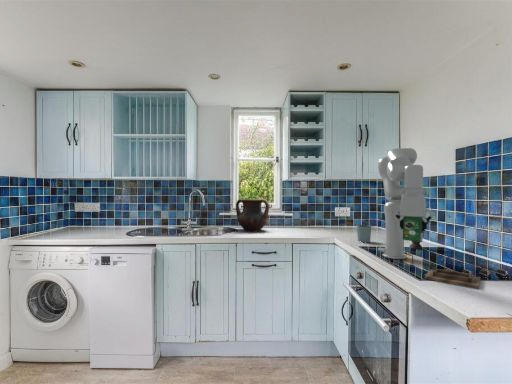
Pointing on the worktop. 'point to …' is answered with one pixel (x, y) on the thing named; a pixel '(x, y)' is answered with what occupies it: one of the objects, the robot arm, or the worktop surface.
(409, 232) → the coffee box
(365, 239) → the grey-green pot
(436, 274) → the holder
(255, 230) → the dark brown round pot
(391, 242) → the robot arm
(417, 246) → the mortar and pestle
